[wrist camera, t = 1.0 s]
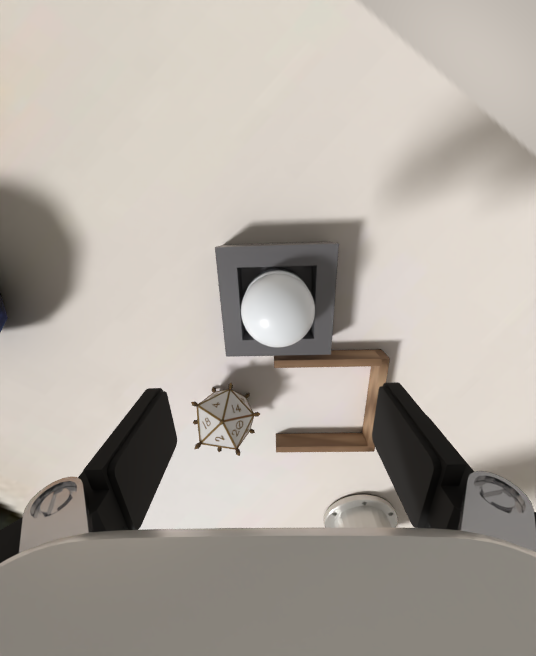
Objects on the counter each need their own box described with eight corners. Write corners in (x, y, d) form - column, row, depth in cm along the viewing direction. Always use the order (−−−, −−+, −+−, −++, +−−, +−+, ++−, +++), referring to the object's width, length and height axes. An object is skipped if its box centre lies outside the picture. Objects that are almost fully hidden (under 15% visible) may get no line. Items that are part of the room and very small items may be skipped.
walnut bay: (367, 437, 38) (374, 451, 36) (276, 438, 38) (276, 452, 36) (381, 349, 32) (389, 358, 30) (273, 351, 33) (274, 360, 30)
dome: (308, 330, 29) (319, 360, 22) (246, 331, 29) (239, 361, 23) (310, 267, 26) (323, 280, 20) (242, 269, 27) (232, 282, 20)
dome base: (324, 340, 32) (330, 354, 28) (231, 341, 32) (226, 356, 29) (329, 241, 28) (338, 243, 24) (222, 244, 28) (214, 247, 24)
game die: (230, 373, 39) (225, 365, 29) (268, 414, 38) (277, 420, 28) (184, 416, 36) (163, 424, 27) (224, 461, 35) (217, 486, 26)
